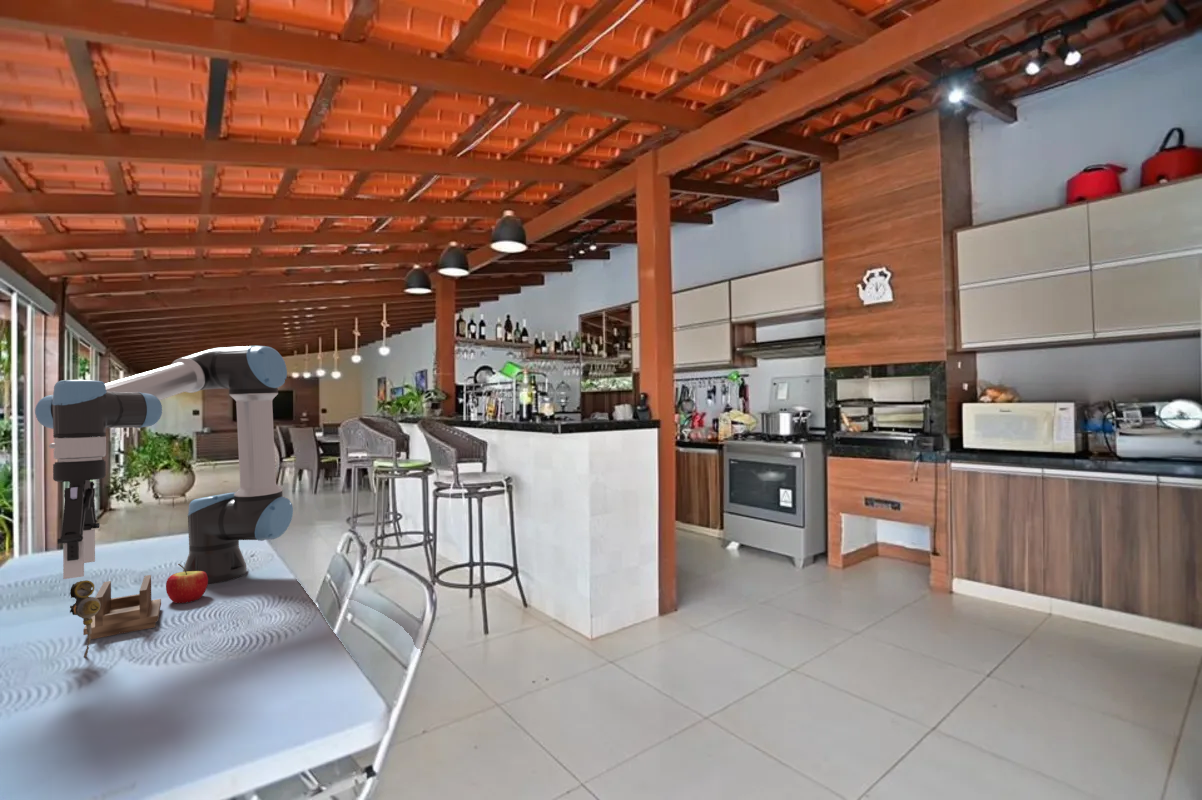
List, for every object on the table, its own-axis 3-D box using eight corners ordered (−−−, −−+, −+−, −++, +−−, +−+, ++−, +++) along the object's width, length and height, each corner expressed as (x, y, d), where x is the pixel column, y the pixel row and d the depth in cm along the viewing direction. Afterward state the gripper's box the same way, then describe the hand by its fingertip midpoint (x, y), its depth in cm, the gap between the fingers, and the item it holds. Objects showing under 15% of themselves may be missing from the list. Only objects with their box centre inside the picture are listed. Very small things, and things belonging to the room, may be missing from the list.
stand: (161, 611, 134) (160, 573, 134) (157, 629, 123) (157, 588, 123) (93, 623, 127) (93, 583, 128) (83, 644, 116) (83, 600, 116)
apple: (162, 603, 140) (162, 563, 140) (203, 594, 146) (203, 555, 147) (169, 611, 135) (169, 568, 135) (212, 601, 141) (211, 561, 141)
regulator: (107, 655, 110) (106, 578, 110) (83, 664, 106) (82, 584, 106) (82, 651, 112) (81, 575, 113) (57, 659, 109) (57, 581, 109)
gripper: (66, 457, 118) (66, 560, 117) (38, 464, 97) (38, 588, 97) (113, 455, 122) (113, 554, 122) (96, 461, 102) (96, 580, 101)
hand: (80, 569), depth 109 cm, fingers open, 13 cm apart
